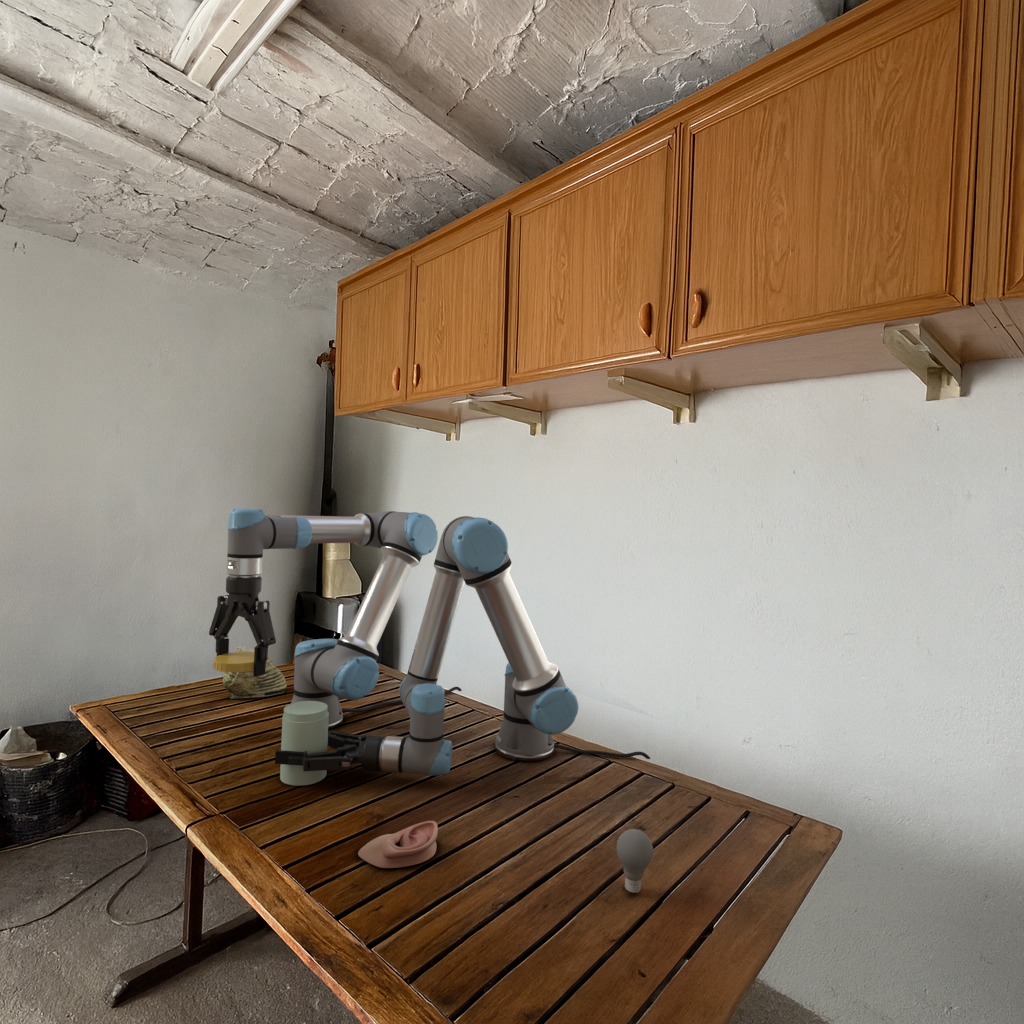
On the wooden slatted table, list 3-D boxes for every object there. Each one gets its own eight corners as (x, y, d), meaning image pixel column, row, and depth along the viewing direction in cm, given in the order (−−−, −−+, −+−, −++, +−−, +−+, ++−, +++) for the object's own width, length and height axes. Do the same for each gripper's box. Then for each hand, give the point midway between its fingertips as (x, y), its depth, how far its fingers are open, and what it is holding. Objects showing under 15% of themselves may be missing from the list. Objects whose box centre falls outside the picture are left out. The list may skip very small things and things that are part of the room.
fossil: (218, 695, 195) (220, 647, 195) (278, 685, 208) (279, 640, 207) (228, 703, 189) (230, 653, 188) (289, 692, 201) (290, 645, 201)
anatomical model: (350, 840, 110) (378, 809, 121) (349, 863, 110) (377, 829, 121) (423, 852, 107) (444, 819, 118) (422, 875, 107) (443, 840, 118)
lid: (209, 673, 138) (209, 664, 138) (218, 660, 149) (218, 651, 149) (263, 671, 141) (263, 663, 141) (268, 659, 152) (269, 651, 152)
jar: (307, 762, 150) (310, 697, 150) (335, 774, 145) (338, 706, 144) (270, 776, 142) (273, 707, 142) (298, 790, 136) (301, 718, 136)
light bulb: (610, 879, 108) (613, 822, 108) (644, 879, 109) (647, 822, 109) (619, 902, 102) (622, 840, 102) (655, 901, 103) (658, 840, 103)
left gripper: (194, 572, 146) (190, 666, 147) (270, 582, 137) (265, 683, 137) (221, 569, 153) (217, 660, 153) (295, 578, 143) (291, 675, 144)
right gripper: (368, 793, 131) (263, 786, 132) (394, 750, 154) (304, 744, 155) (369, 757, 131) (264, 750, 132) (395, 719, 153) (305, 714, 155)
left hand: (240, 671), depth 145 cm, fingers closed on lid, 11 cm apart
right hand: (286, 747), depth 143 cm, fingers closed on jar, 10 cm apart
